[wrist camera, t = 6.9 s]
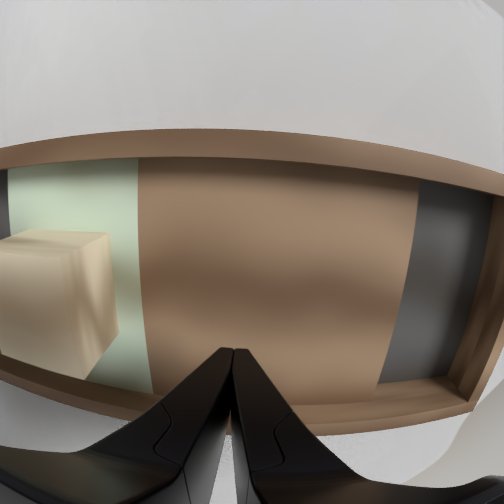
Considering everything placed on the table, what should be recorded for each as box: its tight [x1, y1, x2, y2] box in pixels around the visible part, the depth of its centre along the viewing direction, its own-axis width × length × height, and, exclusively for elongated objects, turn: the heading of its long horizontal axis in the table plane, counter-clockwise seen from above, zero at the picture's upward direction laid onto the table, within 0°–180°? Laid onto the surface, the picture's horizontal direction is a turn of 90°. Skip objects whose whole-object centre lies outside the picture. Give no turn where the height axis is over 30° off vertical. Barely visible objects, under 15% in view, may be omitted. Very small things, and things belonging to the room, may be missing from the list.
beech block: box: [0, 229, 119, 380], centre depth 11 cm, size 5×5×4 cm
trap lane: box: [0, 129, 504, 436], centre depth 14 cm, size 14×35×4 cm, turn 87°
